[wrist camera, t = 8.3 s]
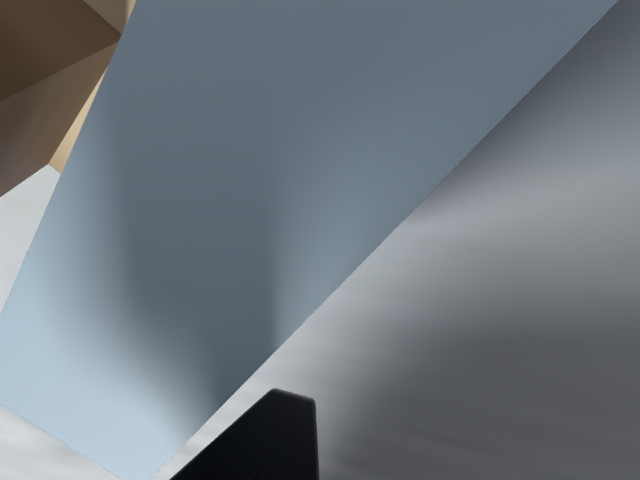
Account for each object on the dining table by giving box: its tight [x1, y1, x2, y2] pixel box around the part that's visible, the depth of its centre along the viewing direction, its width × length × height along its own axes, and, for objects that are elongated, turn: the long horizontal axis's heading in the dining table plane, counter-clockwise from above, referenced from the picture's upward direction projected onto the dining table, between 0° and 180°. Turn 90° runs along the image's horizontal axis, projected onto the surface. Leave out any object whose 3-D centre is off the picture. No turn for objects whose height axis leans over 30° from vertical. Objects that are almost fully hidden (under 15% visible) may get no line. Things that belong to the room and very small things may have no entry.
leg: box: [0, 0, 618, 480], centre depth 7 cm, size 11×3×3 cm, turn 146°
